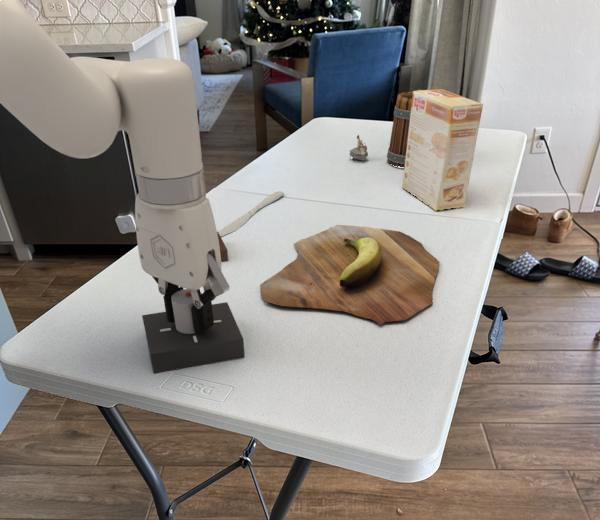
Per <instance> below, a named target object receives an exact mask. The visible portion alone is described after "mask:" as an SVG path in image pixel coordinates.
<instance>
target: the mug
mask: <svg viewBox="0 0 600 520" xmlns="http://www.w3.org/2000/svg"><path fill="white" fill-rule="evenodd" d="M421 90H422V89H417V90H416V91H421ZM412 96H413V91H407V92H401V93H399V94H397V97H396V101H395V102H396V103H395V105H394V109H393V121H392V127H391V134H390V139H389V146H388V149H387V154H386V161H387V163H388V164H389V165H390V164H392V165H394V166H397V167H398V166H400V167H405V159H406V150H407V141H408V132H409V123H410V114H411V106H412Z"/></svg>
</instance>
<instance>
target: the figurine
mask: <svg viewBox="0 0 600 520" xmlns="http://www.w3.org/2000/svg"><path fill="white" fill-rule="evenodd" d="M356 140H357V146H356V147H354V148H352V149H350V150H349V156H351V157H353V158H354V159H353V160H355V159H357V160H358V161H362V160H366V159H367V157H368V156H369V152H368V146H367V145H366V142H365V141H364V142H363V139H361V138H360V135H359V134H357V135H356Z"/></svg>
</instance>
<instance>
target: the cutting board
mask: <svg viewBox="0 0 600 520" xmlns="http://www.w3.org/2000/svg"><path fill="white" fill-rule="evenodd" d="M293 245H294V248H295V250H296V252H297V256H296V259H294V260H293V261H291V262H290V263H288V264H287V265H286V266H284V268H282V269H281V270H279V271H278V272H276V273H275V274H274V275H272V276H271V277H269V278H268V279H266V280H265V281H264V282H262V283H260V285H259V289H260V296H261V298H262V299H263V300H264V301H265V302H266V303H269V304H274V305H277V306H281V307H291V308H292V307H293V308H307V309H321V310H331V311H337V312H338V311H339V312H345V313H348V314H351V315H354V316H357V317H359V318H363V319H370V320H372V321H373V322H376V323H377V324H378V325H380V326H381V325H382V324H384V323H389V322H399V321H406V320H408V319H410V318H411V317H413V316H414V315H416V314H417V313H419V312H420V311H422V310H423V309H425V308H426V307H427V308H428V307H429V306H430V305H432V304H434V302H433V290H434V286H435V281H436V278H437V275H438V273H439V270H440V264H441V263H440V262H441V261H440V260H438V259H437V258H436V257H435V256H434V255H432V253H430V252H429V251H428V250H427V249H426V248H425V246H424V245H423V244H422V242H421V241H418V240H417V239H415V238H414V237H412V236H410V235H408V234H406V233H405V232H402V231H399V230H392V229H386V228H379V227H369V226H359V225H343V224H336V225H334V226H332V227H330V228H327V229H325V230H322V231H319V232H318V233H316V234H313V235H310V236H308V237H306V238H305V237H304V238H301V239H299V240H297V241H296V242H295V243H293Z"/></svg>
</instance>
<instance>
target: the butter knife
mask: <svg viewBox="0 0 600 520" xmlns="http://www.w3.org/2000/svg"><path fill="white" fill-rule="evenodd" d="M284 195H285V194H284V192H283V191H275V192H273V193H271V194H270V195H268V196H267V197H266V198H264V199H263V200H261V202H259V203H258V204H257V205H256V206H254V207H253V208H251V209H250V210H249V211H247V212H246V213H244V214H243V215H241V216H239V217H238V218H236V219H235V220H234V221H232V222H231V223H228V224H227V225H226V226H224V227H223V228H222V229H220V230H219V231H217V232H218V233H219V234H220V236H221V237H223V236H227V235H229V234H230V233H233V232H235V231H237V230H238V229H239V228H241V227H242V226H243V225H244V224H245V223H247V221H249V219H250V218H251V217H253V215H254V214H256V213H257V212H258V211H259V210H261V209H263V208H264V207H266V206H268V205H269V204H272V203H274V202H275V201H277V200H278V199H280V198H282V197H283V196H284Z"/></svg>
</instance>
